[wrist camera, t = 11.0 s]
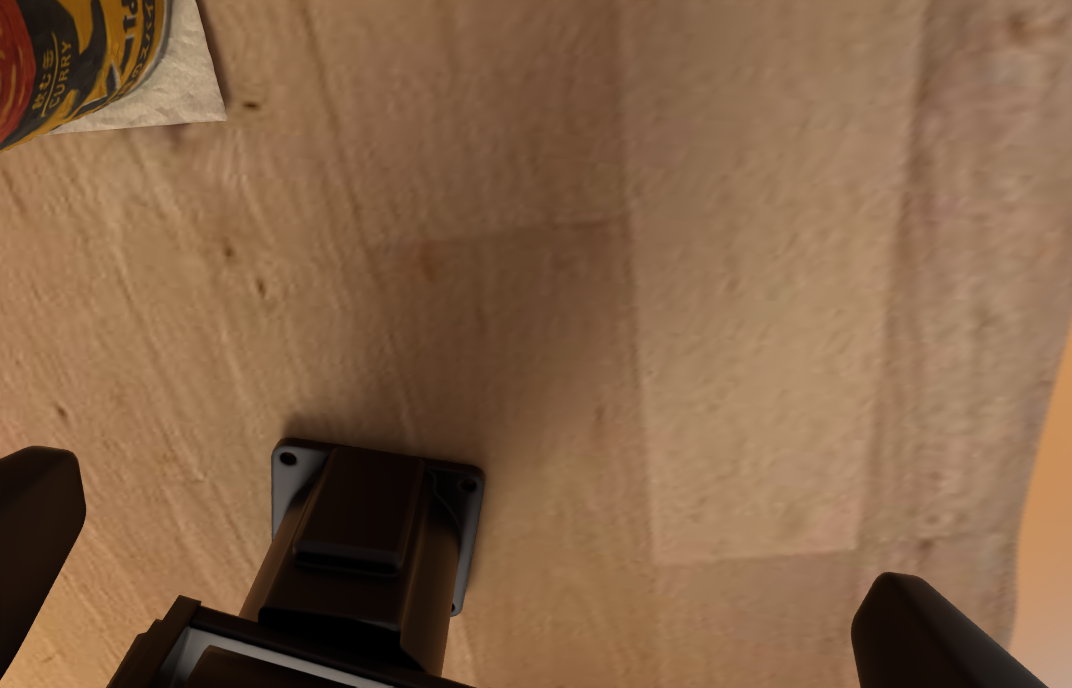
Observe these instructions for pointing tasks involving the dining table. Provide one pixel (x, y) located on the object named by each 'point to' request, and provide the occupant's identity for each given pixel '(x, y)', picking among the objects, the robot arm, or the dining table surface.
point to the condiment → (102, 67)
